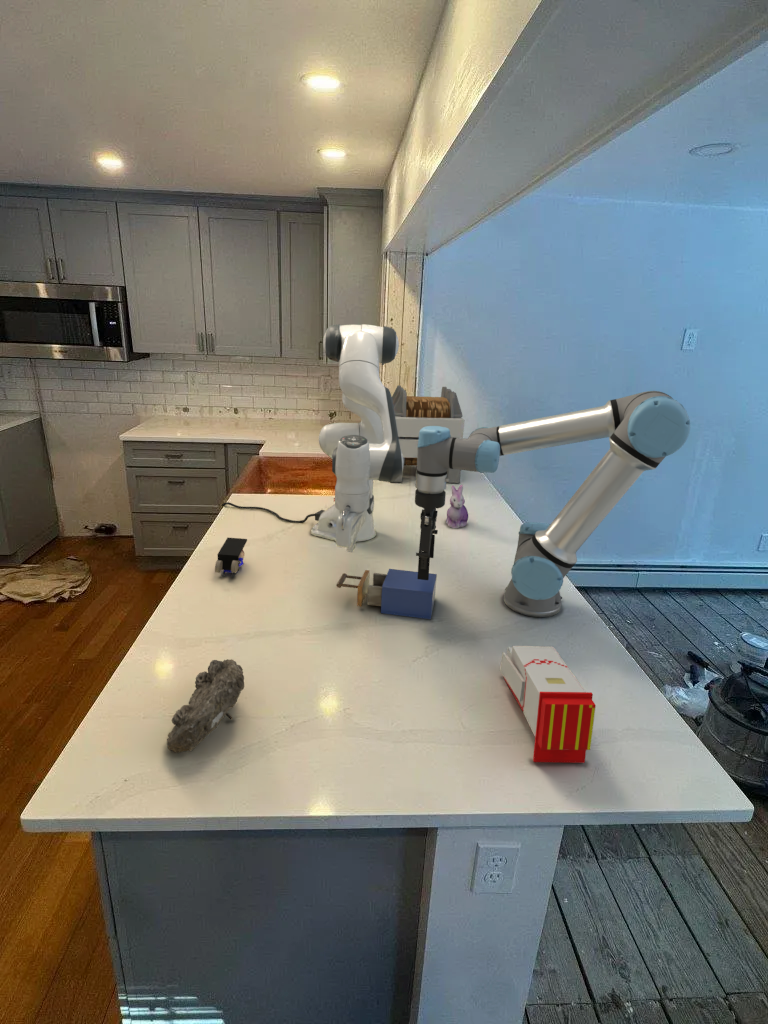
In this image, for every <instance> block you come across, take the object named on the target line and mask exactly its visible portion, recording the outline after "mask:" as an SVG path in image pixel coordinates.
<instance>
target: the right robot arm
mask: <svg viewBox="0 0 768 1024" xmlns="http://www.w3.org/2000/svg"><path fill="white" fill-rule="evenodd" d="M690 432H691V420H690V417H689V414H688V411H687V409H686V408H685V407H684V405H683V404H682V403H680V402H679V401H678V400H676V399H674V398H673V397H672V396H671V395H669V394H667V393H665V392H663V391H659V390H645V391H643V392H638V393H635V394H631V395H627V396H623V397H620V398H619V397H618V398H615V399H614V398H613V399H609V400H607V402H606V403H605V404H604V405H601V406H596V407H590V408H586V409H580V410H575V411H569V412H564V413H560V414H555V415H550V416H549V415H548V416H544V417H539V418H533V419H528V420H523V421H517V422H513V423H508V424H502V425H498V426H492V427H488V426H481V427H478V428H475V430H473V431H472V432H470V434H469V436H468V437H467V438H466V437H465V438H464V437H463V438H454V437H451V435H450V430H449V429H448V428H446V427H441V426H426V427H423V428H422V429H421V430H420V431H419V439H418V445H417V466H416V471H415V483H414V484H415V485H414V486H415V488H416V490H415V491H414V504H415V505H416V506H417V507H419V508H422V509H421V512H420V515H419V517H420V518H419V519H420V526H419V527H420V534H419V535H420V536H419V546H418V552H415V557H418V564H417V572H418V579H420V580H429V573H430V566H431V565H430V563H431V561H430V560H431V559H434V555H435V554H434V553H435V539H436V536H435V535H438V532H439V530H438V529H436V528H437V524H436V522H437V519H438V511H439V510H437V509H441V508H443V507H444V506H445V505H446V497H447V496H446V495H447V494H446V493H447V492H446V491H445V490H446V489H447V483H448V481H449V478H446V476H447V468H450V469H458V470H461V471H468V472H476V473H480V474H484V473H488V474H493V473H495V472H497V470H498V467H499V463H500V457H501V456H507V455H512V454H513V455H514V454H519V453H524V452H525V453H526V452H530V451H535V450H537V451H538V450H541V449H542V450H543V449H548V448H554V447H559V446H565V445H570V444H577V443H583V442H588V441H594V440H600V439H601V440H602V439H606V438H608V442H609V449H608V451H607V452H606V453H605V454H604V456H603V457H602V458H601V459H600V460H599V462H598V463H597V464H596V465H595V466H594V468H593V469H592V471H591V472H590V473H589V474H588V476H587V477H586V478H585V480H584V481H583V482H582V483H581V484H580V486H579V487H578V489H577V490H576V491H575V492H574V493H573V495H572V496H571V497H570V499H569V500H568V501H567V502H566V503H565V505H564V506H563V507H562V509H561V510H560V511H559V513H558V514H557V515H556V516H555V518H554V519H553V520H552V522H551V523H546V522H541V521H539V522H538V521H528V522H523V523H522V524H521V525H520V527H519V531H518V538H517V539H518V540H517V547H516V550H515V551H516V552H515V555H514V560H513V561H514V562H513V565H512V567H511V579H510V581H509V583H508V584H507V586H506V587H505V588H504V590H503V592H504V593H503V602H504V604H505V605H506V606H507V607H508V608H509V609H510V610H511V611H513V612H515V613H517V614H520V615H524V616H527V617H533V618H549V617H553V616H555V615H557V614H558V613H560V612H561V608H562V600H563V597H562V596H561V592H560V591H561V589H562V586H563V584H564V578H565V577H566V576H567V574H568V573H569V572H570V571H571V570H572V569H573V567H574V566H575V565H576V564H577V562H578V557H577V553H578V551H579V550H580V549H581V547H582V546H583V545H584V543H585V542H586V541H587V540H588V539H589V538H590V536H591V535H592V534H593V533H594V532H595V531H596V530H597V528H598V527H599V525H600V524H601V523H602V522H603V521H604V520H605V518H606V517H607V516H608V515H609V514H610V513H611V511H612V510H613V509H614V508H615V506H616V505H618V503H619V502H620V501H621V500H622V498H623V497H624V496H625V494H626V493H627V492H628V491H629V490H630V489H631V487H632V486H633V485H634V484H635V483H636V481H637V480H638V479H639V478H640V477H641V475H643V473H644V472H646V471H652V470H656V469H657V468H658V466H660V464H661V463H662V462H663V461H664V460H665V458H666V457H668V456H671V455H673V454H674V453H676V452H677V451H679V450H680V449H682V447H683V446H684V445H685V443H686V442H687V440H688V438H689V435H690Z"/></svg>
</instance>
